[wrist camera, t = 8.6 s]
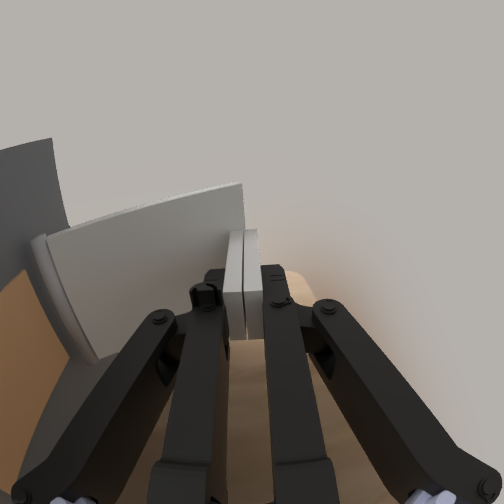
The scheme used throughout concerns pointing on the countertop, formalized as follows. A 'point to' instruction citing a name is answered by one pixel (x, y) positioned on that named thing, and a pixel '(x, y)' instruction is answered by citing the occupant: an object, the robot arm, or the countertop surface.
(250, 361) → the countertop surface
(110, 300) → the side door
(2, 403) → the box
